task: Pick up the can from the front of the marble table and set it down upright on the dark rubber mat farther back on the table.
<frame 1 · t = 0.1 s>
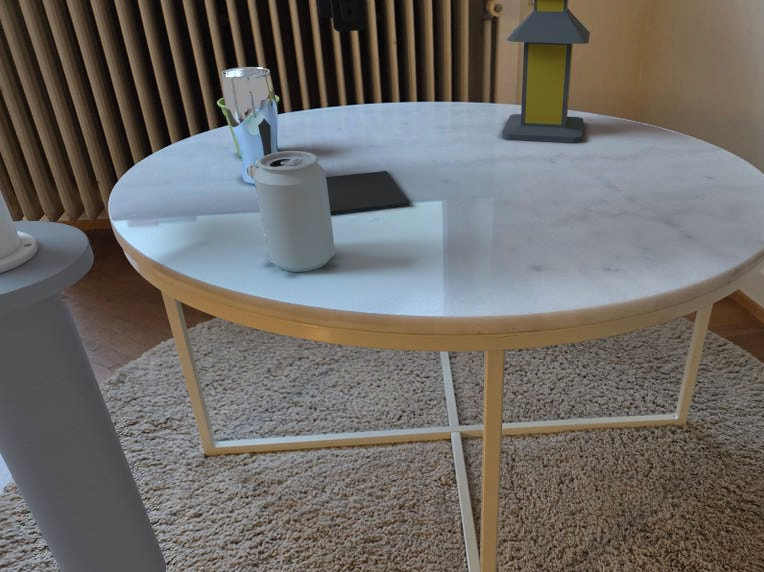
hand: (341, 23, 72), 24 cm above the table, tool pointing down, fingers open, 9 cm apart
beer glass: (264, 178, 102), on the table
can: (303, 262, 79), on the table
lantern: (543, 131, 125), on the table
plant pot: (258, 155, 112), on the table
mat: (349, 194, 97), on the table
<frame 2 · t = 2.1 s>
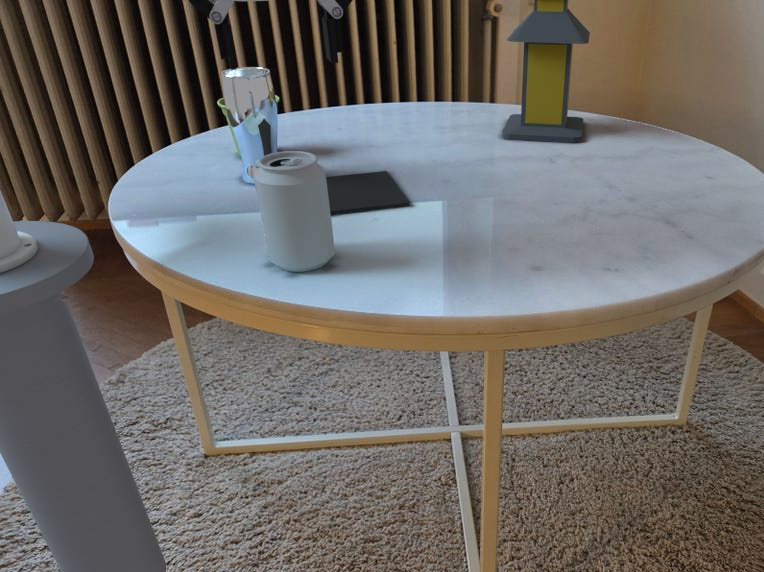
hand: (284, 63, 67), 21 cm above the table, tool pointing down, fingers open, 9 cm apart
nothing on the table moved.
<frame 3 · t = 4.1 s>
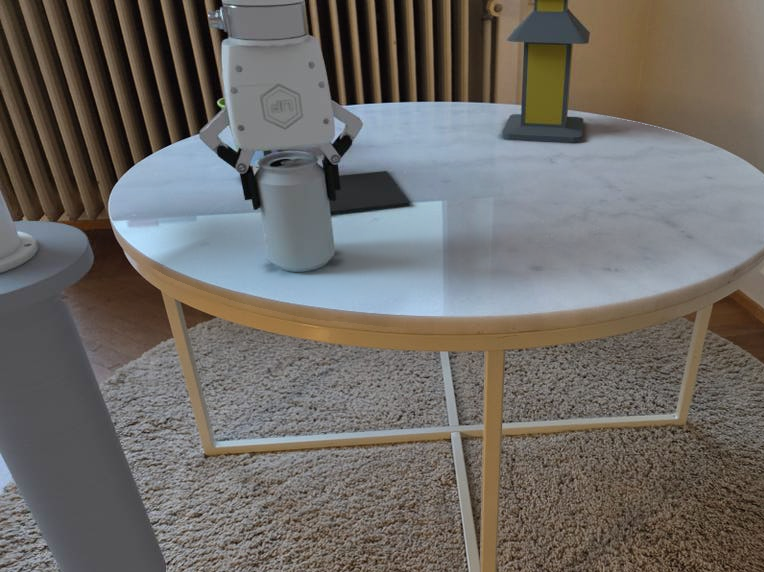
hand: (294, 200, 74), 7 cm above the table, tool pointing down, fingers closed on can, 7 cm apart
can: (303, 262, 79), on the table, touching gripper
everything else where it was.
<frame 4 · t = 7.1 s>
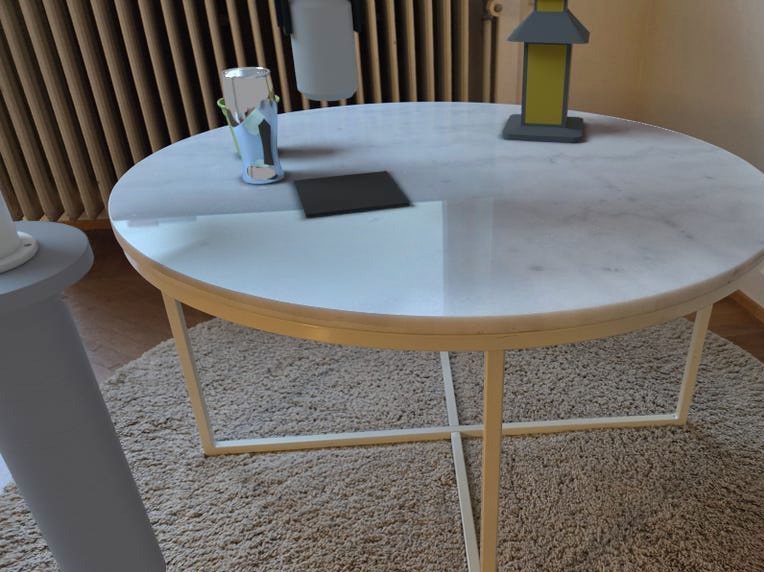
hand: (322, 31, 81), 22 cm above the table, tool pointing down, fingers closed on can, 7 cm apart
can: (329, 97, 85), point 14 cm above the table, touching gripper
everything else where it was.
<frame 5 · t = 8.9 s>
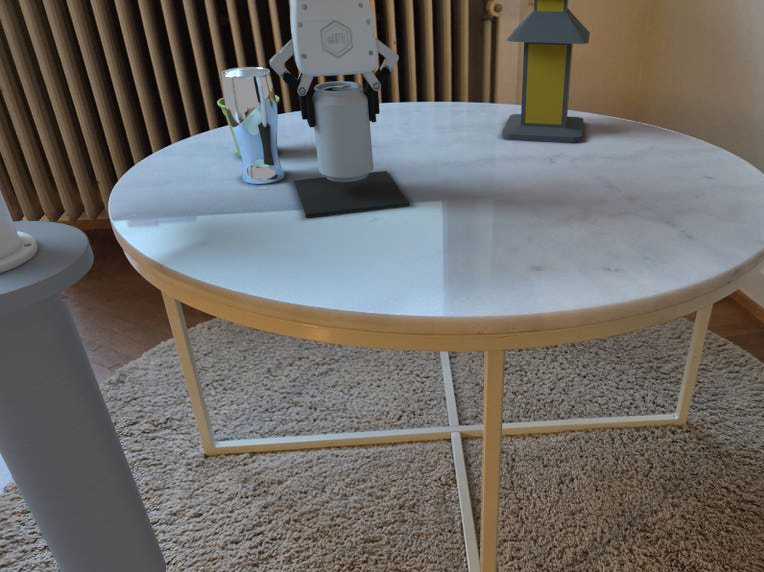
hand: (341, 121, 91), 10 cm above the table, tool pointing down, fingers closed on can, 7 cm apart
can: (347, 176, 95), point 3 cm above the table, touching gripper
everything else where it was.
when the fingers open (8 cm above the table, at t = 10.2 s): can stays where it is, resting on mat.
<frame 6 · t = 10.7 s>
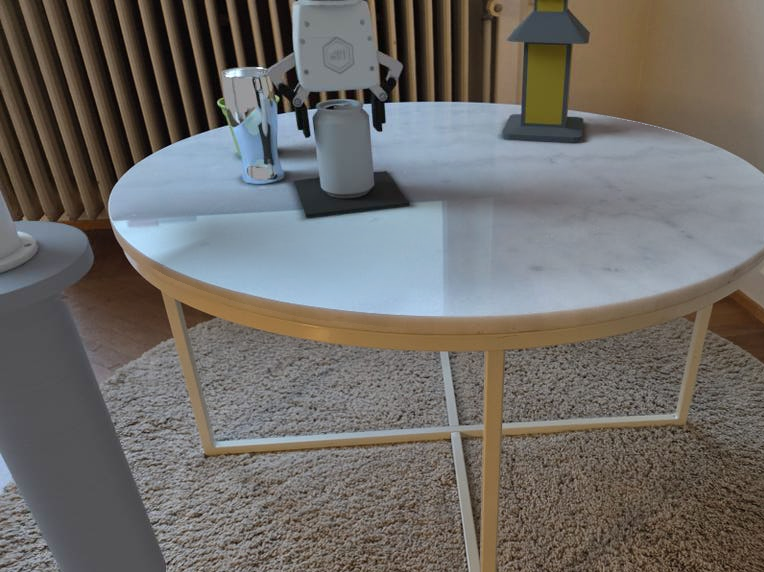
hand: (342, 132, 92), 9 cm above the table, tool pointing down, fingers open, 9 cm apart
can: (348, 192, 96), resting on mat
everything else where it was.
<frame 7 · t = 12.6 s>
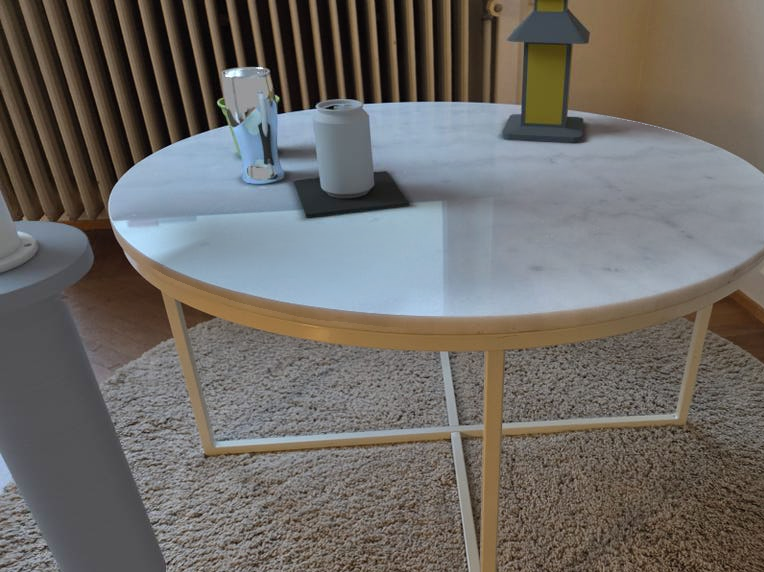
nothing on the table moved.
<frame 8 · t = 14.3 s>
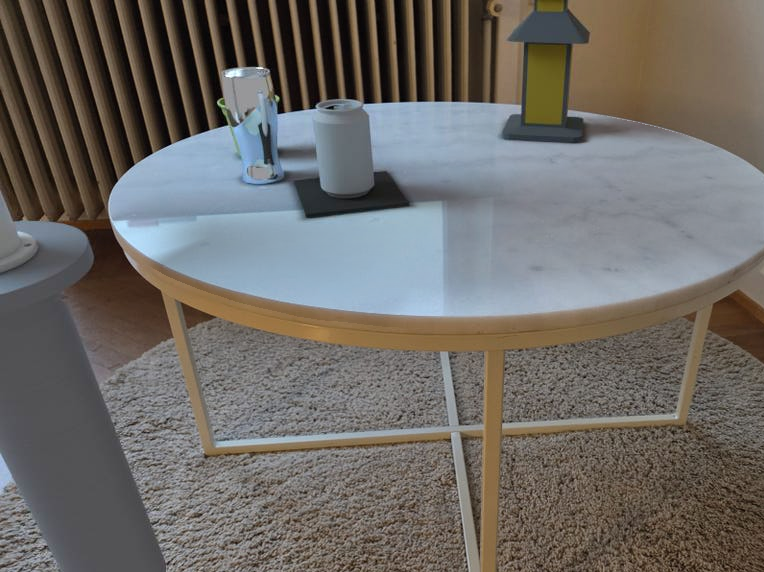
nothing on the table moved.
at the end: can inside the target area on the mat (0.1 cm from its centre), point 0.3 cm above the mat's base; can tilted 0°; can moved 21.9 cm from its start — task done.
